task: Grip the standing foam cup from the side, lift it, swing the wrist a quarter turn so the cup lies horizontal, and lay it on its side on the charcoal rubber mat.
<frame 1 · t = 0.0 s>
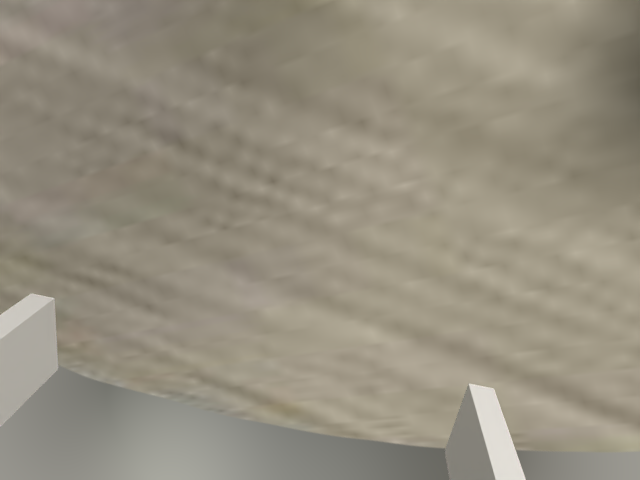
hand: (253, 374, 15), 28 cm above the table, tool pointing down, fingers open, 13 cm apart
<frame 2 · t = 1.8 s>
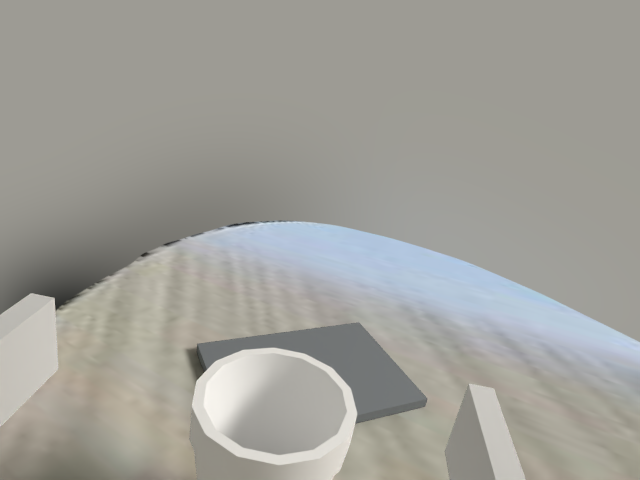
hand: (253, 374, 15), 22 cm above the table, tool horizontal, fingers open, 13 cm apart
rubber mat: (308, 378, 49), on the table
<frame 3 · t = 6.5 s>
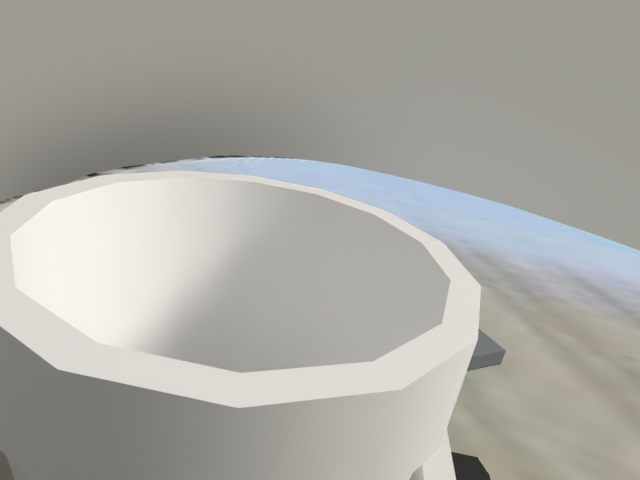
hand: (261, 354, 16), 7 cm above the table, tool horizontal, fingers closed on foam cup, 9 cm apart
rubber mat: (316, 320, 32), on the table
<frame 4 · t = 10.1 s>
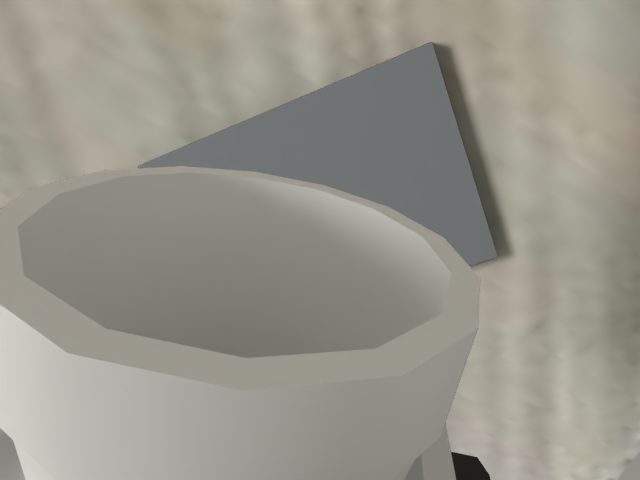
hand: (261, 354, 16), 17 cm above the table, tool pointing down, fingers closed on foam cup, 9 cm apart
rubber mat: (318, 206, 32), on the table
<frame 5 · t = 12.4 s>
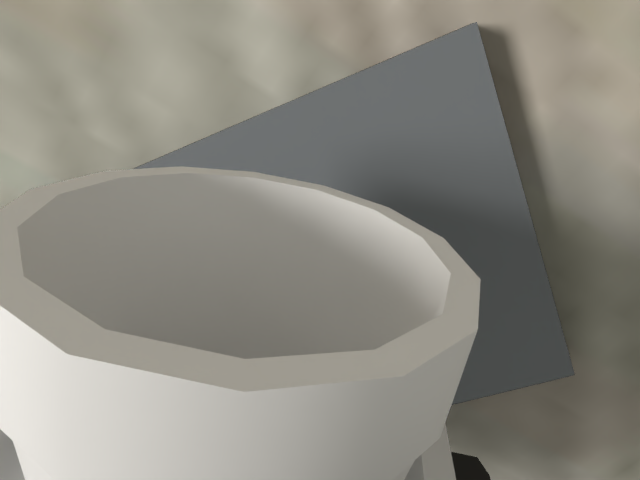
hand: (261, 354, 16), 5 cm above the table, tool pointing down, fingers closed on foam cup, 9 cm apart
rubber mat: (284, 290, 20), on the table
when the fingers open (3 cm above the table, at t = 13.6 s): foam cup drops 2 cm, resting on rubber mat.
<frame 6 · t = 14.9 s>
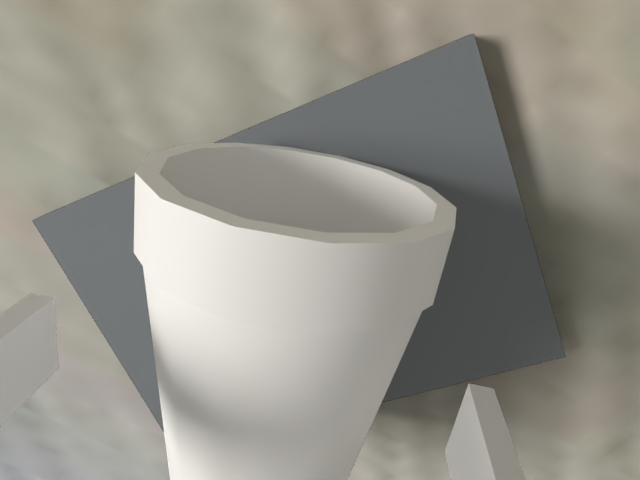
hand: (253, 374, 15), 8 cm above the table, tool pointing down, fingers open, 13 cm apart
rubber mat: (298, 277, 22), on the table
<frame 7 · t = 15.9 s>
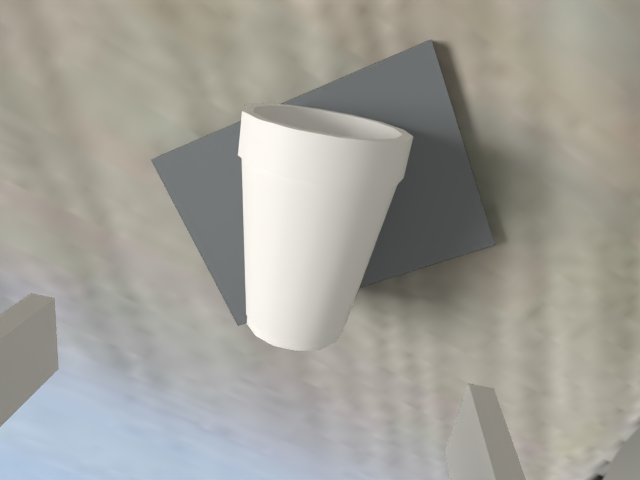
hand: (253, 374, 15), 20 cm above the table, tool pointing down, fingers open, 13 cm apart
foam cup: (294, 324, 31), point 6 cm above the table, touching rubber mat
rubber mat: (323, 197, 34), on the table
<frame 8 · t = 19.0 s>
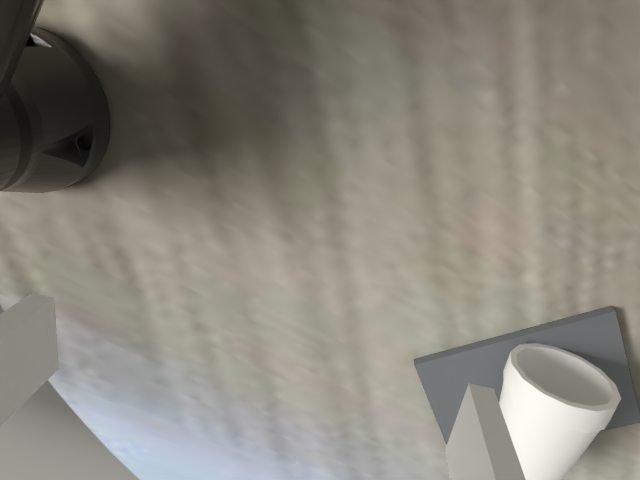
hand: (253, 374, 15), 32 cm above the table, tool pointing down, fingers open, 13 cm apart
foam cup: (517, 478, 48), point 6 cm above the table, touching rubber mat
rubber mat: (524, 387, 51), on the table
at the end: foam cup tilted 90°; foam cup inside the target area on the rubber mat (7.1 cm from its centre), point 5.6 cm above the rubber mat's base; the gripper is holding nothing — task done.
